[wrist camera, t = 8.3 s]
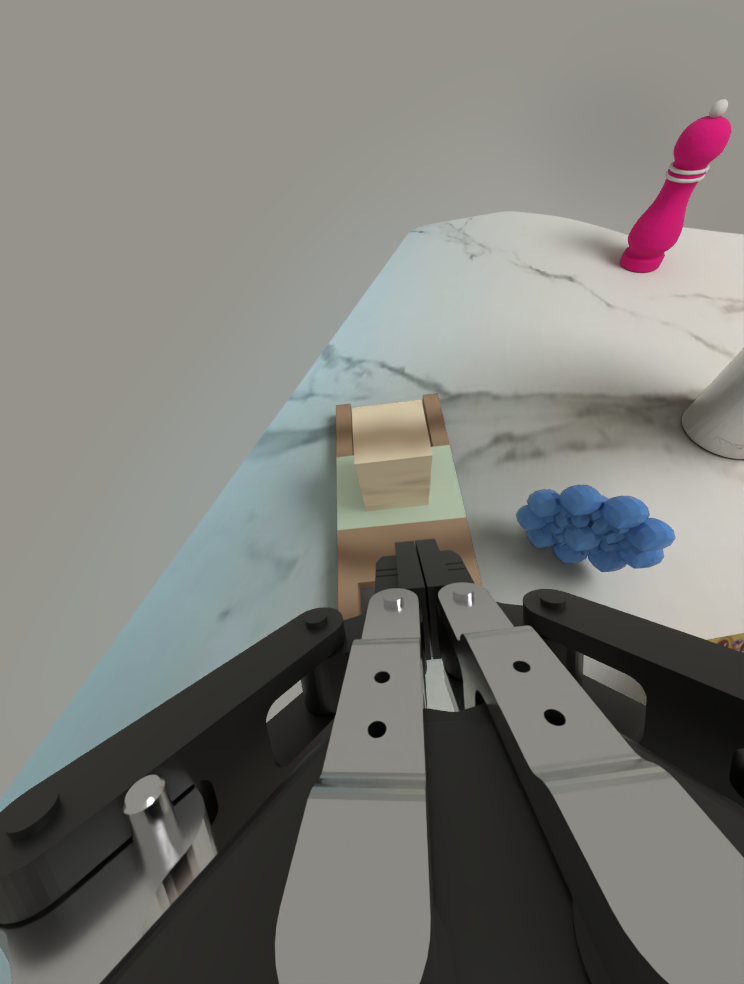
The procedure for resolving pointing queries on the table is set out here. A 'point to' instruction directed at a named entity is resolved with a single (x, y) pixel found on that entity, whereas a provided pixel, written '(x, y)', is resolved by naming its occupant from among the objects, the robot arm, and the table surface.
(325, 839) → the robot arm
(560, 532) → the grapes
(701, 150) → the pepper mill
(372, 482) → the beech block
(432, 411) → the board
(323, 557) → the table surface
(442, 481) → the pad
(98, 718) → the table surface
